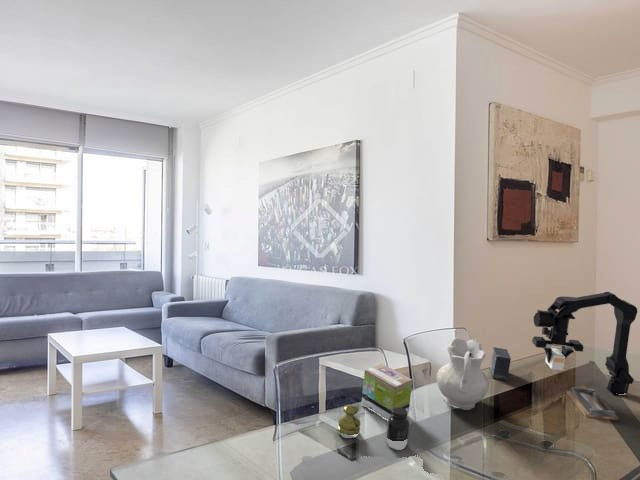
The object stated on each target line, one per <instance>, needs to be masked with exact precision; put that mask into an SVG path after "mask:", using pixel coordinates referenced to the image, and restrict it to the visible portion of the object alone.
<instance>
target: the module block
mask: <svg viewBox="0 0 640 480" xmlns="http://www.w3.org/2000/svg"><path fill="white" fill-rule="evenodd" d="M550 348H551V349H552V353H551V359H550V362H549V363H548V361H547V357H546V356H545V360H544V361H545V363H546V364H547V365H548V367H549V368H550V370H554V371H564V368H565V360H566V359H565V356H564V355H563V354H562V353H561V352H562V351H561V350H560V349H559V348H554V347H553V348H552V347H550Z"/></svg>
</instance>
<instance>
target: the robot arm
mask: <svg viewBox="0 0 640 480" xmlns="http://www.w3.org/2000/svg"><path fill="white" fill-rule="evenodd" d="M609 304H610V305H611V306H612V307H613V311H614V312H613V313H614V316H615V320H616V326H615V333H614V341H613V348H612V354H611V355H610V356H606V358H605V360H606V361H605V363H604V365H605V367H606V370H608V373H609V375H611V376H610V379H609V380H608V383H607V384H608V385H607V386H606V387H605V388H606V389H607V390H608V391H609V392H610V393H611V394H612V395H613V396H618V394H624V393H627V394H628V393H629V392H628V391H629V389H630V388H629V387H630V385H633V382H634V381H635V379H634V378H633V377H632V375H631V374H630V364H629V363H628V359H627V353H628V345H629V337H630V331H631V324H632V323H633V322H634V321H635V320H636V318H637V314H638V307H636V305H634V304H632V303H631V302H628V301H627V300H624V299H621V298H619V297H618V296H617V295H616V294H614V293H612V292H610V291H605V292H602V293H601V292H600V293H594V294H589V295H584V296H578V297H577V296H575V297H574V296H558V297H556V298H555V300H554V301H553V302H552V304H551V305H550V306H549V307H548V308H547V309H546V310H541V309H537V310H536V311H537V312H535V314H534V316H533V324H534V326H535V327H537V328H541V335H544V336H545V337H546V338H548V339H545V338H544V336H536V335H535V336H533V337H532V340H531V341H532V344H533V345H534V346H535V347H536V348H540V349H541V348H542V349H543V350H544V351H545V358H546V357H547V361H548V363H549V362H550V359H551V353H552V349H551V348H552V347H551V346H555V347H561V351H560V352H561V353H562V354H563V355H564V356H565V360H566V359H567V358H568V357H569V356H570V355H571V354H572V353H575V352H580V353H581V352H584V344H582V342H580V341H579V340H578V339H569V340H568V341H567V337H568V336H569V332H568V331H569V324H570V320H576V317H575V316H574V315H573V313H576V312H578V311H579V310H581V309H587V308H592V307H596V306H598V307H599V306H603V305H609ZM549 328H550V329H549ZM616 393H617V394H616Z"/></svg>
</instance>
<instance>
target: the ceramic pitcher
mask: <svg viewBox="0 0 640 480" xmlns="http://www.w3.org/2000/svg"><path fill="white" fill-rule="evenodd" d="M447 351H448V354H449V361H448V363H446V364H444V365H443V366H442V365H441V367H440V368H439V370H438V371H437V373H436V383H437V384H436V385H437V386H438V387H437V388H438V390H439V391H440V393H441V394H442V396H443V397H444V399H443V401H444V402H447V403H446V404H448V405H449V404H450V405H453V406H456V407H472V406H474V405H475V404H478V403H479V402H481V401H483V399H484V398H485V397H486V396H487V394H488V392H489V389H490V380H489V377H488V376H487V374H486V373H485V372H484V371H483V370H482V369H481V365H482V363H483V361H484V360H485V358H486V356H487V354H486V352H485V351H484V350H483V349H482V343H480V341H479V340H478V339H477V338H476V339H475V338H473V337H471V338H470V340H468V341H467V340H465V339H463V338H461V337H458V336H457V337H455V338H454V339H452V341H451V342H450V346H448V347H447ZM450 405H449V406H450Z"/></svg>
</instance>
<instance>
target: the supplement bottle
mask: <svg viewBox="0 0 640 480" xmlns="http://www.w3.org/2000/svg"><path fill="white" fill-rule="evenodd" d="M409 430H410V420H409V419H408V416H407V410H405V409H404V408H400V407H397V408H394V409H393V410H392V416H390V418H389V419H388V422H387V431H386V439H387V438H388V439H390V440H392V441H404V440H406V439H408V440H409V432H410V431H409Z"/></svg>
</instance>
